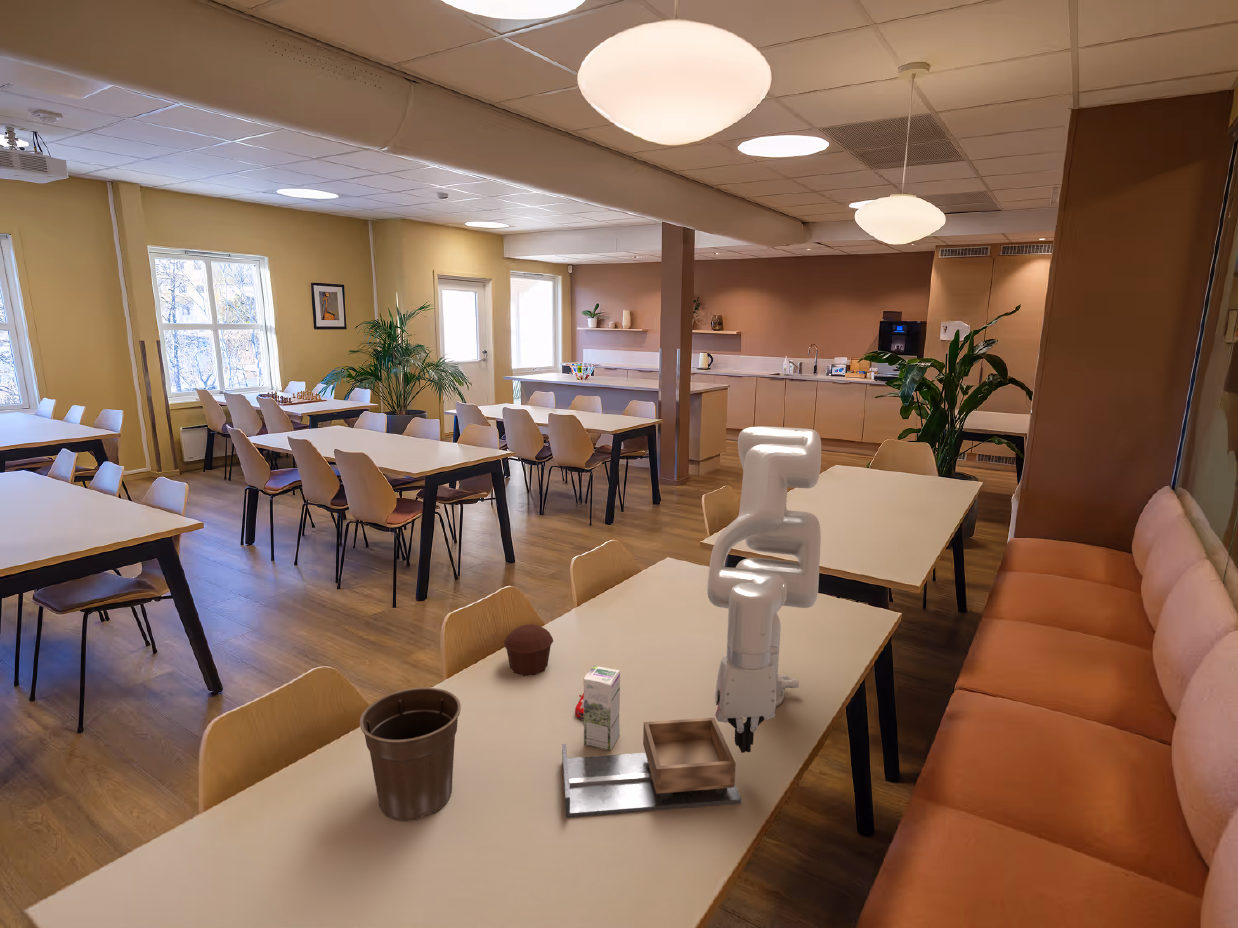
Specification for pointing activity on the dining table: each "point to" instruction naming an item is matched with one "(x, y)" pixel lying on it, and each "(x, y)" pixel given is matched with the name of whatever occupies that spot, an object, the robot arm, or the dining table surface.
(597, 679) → the syrup box
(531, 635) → the muffin
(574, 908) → the dining table surface
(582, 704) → the race car
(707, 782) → the open wooden crate
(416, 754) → the plant pot
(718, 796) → the track
